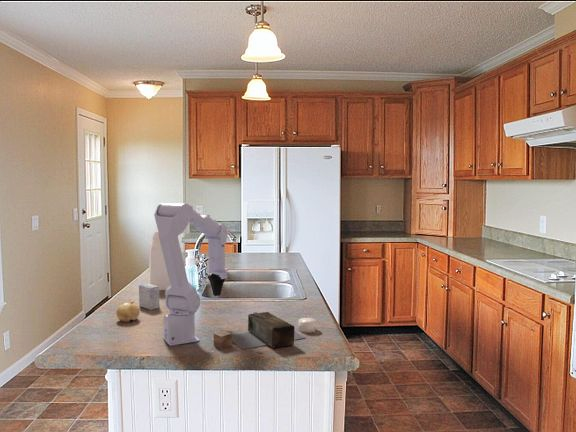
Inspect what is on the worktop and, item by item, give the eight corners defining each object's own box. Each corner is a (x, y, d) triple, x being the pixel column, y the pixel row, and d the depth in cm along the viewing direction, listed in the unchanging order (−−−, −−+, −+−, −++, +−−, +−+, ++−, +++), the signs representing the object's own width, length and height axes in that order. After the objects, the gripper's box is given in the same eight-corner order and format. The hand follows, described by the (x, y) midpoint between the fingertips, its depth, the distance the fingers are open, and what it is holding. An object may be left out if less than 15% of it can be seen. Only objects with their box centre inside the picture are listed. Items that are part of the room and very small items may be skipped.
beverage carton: (268, 328, 174) (268, 309, 173) (295, 345, 157) (295, 324, 156) (247, 331, 170) (247, 312, 169) (272, 349, 153) (272, 328, 152)
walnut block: (221, 349, 154) (221, 336, 153) (213, 346, 157) (213, 333, 156) (232, 346, 157) (231, 333, 156) (224, 343, 159) (223, 330, 159)
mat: (242, 349, 153) (242, 349, 153) (225, 336, 165) (225, 335, 165) (305, 338, 164) (305, 337, 164) (284, 326, 176) (284, 325, 176)
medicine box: (159, 308, 199) (159, 286, 198) (149, 310, 196) (149, 288, 195) (148, 304, 204) (148, 283, 204) (139, 306, 201) (138, 284, 200)
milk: (174, 283, 242) (173, 229, 240) (177, 288, 231) (176, 232, 229) (148, 285, 238) (147, 230, 236) (150, 290, 227) (148, 233, 225)
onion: (138, 323, 179) (137, 303, 179) (114, 324, 178) (114, 304, 177) (140, 316, 187) (140, 298, 187) (118, 317, 186) (118, 298, 185)
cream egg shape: (304, 334, 168) (304, 323, 168) (295, 329, 174) (295, 319, 173) (319, 331, 171) (319, 321, 171) (310, 326, 176) (310, 316, 176)
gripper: (235, 259, 173) (235, 298, 175) (219, 253, 186) (220, 289, 187) (215, 261, 170) (216, 301, 171) (201, 254, 183) (201, 291, 184)
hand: (216, 295), depth 179 cm, fingers closed
